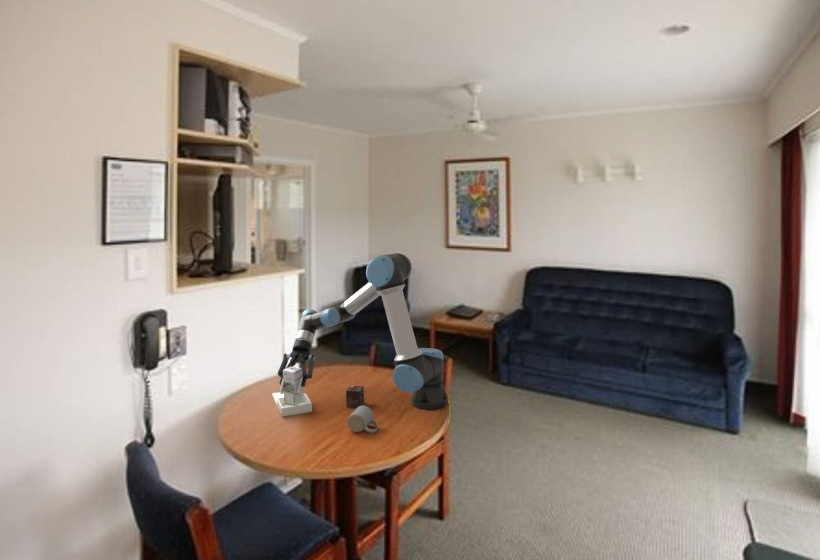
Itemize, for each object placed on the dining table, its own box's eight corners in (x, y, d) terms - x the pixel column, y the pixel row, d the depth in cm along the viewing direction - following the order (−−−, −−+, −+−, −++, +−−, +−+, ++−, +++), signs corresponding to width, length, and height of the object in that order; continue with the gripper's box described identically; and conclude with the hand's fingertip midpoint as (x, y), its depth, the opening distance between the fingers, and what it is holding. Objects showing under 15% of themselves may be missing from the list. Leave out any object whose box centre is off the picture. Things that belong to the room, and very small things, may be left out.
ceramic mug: (346, 432, 176) (346, 412, 175) (356, 423, 184) (355, 403, 183) (372, 436, 173) (372, 416, 172) (381, 427, 181) (381, 407, 180)
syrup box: (304, 401, 199) (302, 367, 197) (295, 406, 194) (293, 371, 192) (293, 399, 202) (291, 365, 200) (283, 404, 197) (282, 369, 194)
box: (360, 408, 198) (359, 391, 197) (346, 407, 199) (345, 390, 198) (364, 402, 204) (364, 386, 203) (350, 401, 205) (350, 385, 204)
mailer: (312, 411, 195) (311, 403, 195) (281, 416, 190) (281, 408, 190) (299, 389, 220) (298, 382, 219) (272, 394, 215) (271, 386, 214)
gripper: (327, 348, 209) (315, 398, 195) (284, 346, 212) (270, 395, 198) (323, 339, 203) (310, 390, 189) (278, 337, 206) (263, 388, 192)
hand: (289, 393), depth 194 cm, fingers closed on syrup box, 7 cm apart
